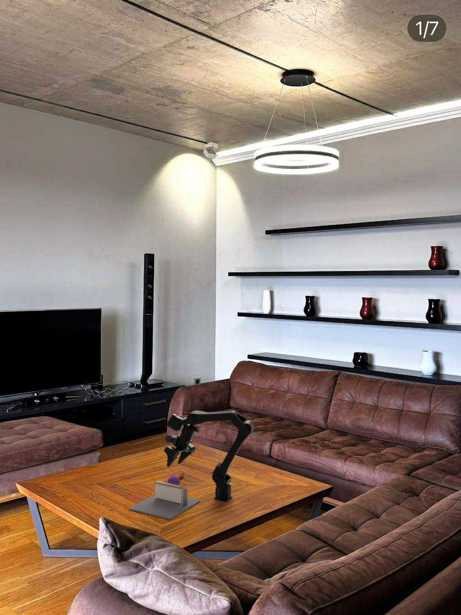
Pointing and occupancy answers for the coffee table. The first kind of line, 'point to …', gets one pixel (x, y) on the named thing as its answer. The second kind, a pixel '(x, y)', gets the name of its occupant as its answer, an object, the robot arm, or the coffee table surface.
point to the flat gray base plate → (164, 506)
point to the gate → (169, 492)
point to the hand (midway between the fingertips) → (173, 465)
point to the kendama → (176, 478)
